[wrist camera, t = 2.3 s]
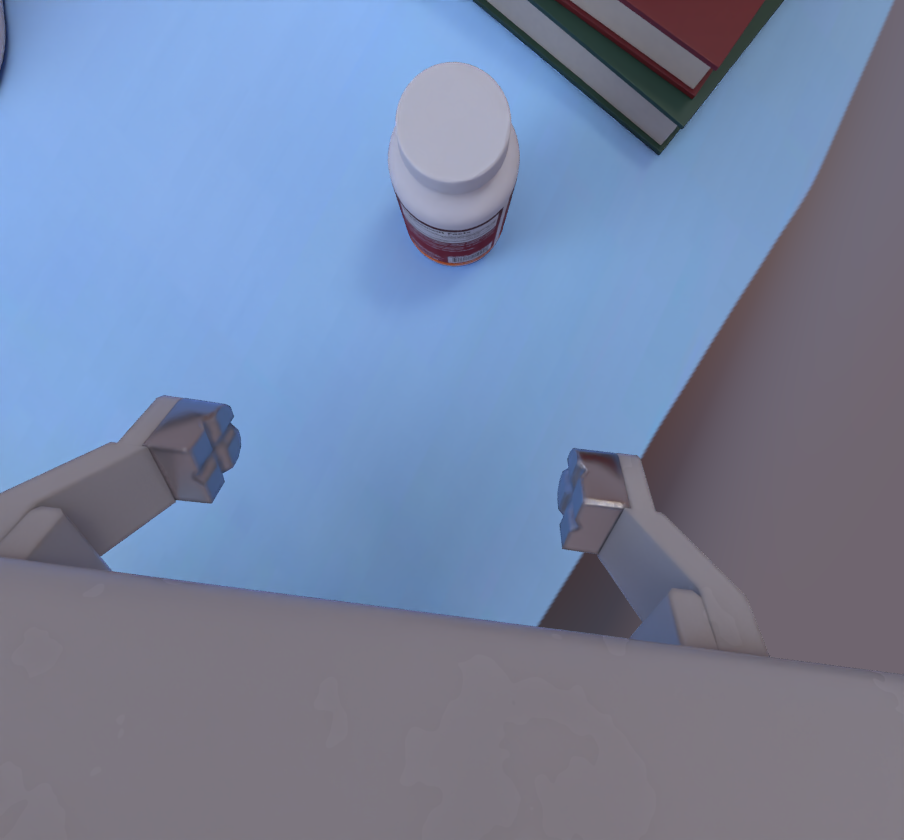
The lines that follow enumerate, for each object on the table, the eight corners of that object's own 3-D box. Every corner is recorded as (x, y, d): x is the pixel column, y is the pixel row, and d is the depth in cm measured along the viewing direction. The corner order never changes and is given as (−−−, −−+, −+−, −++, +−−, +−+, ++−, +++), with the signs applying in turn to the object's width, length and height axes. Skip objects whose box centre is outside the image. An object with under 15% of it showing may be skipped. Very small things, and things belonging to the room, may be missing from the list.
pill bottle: (438, 149, 29) (428, 6, 18) (521, 202, 29) (561, 92, 18) (387, 236, 30) (347, 147, 19) (470, 288, 30) (479, 230, 19)
